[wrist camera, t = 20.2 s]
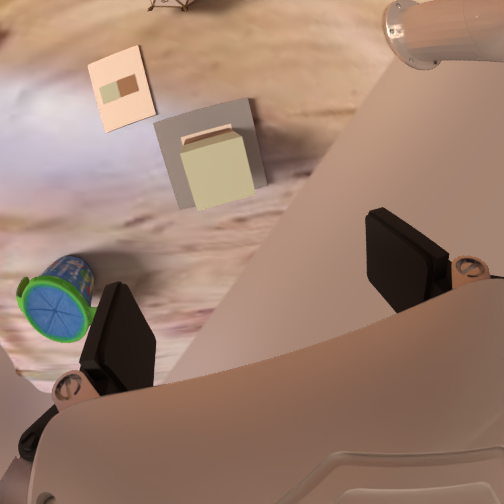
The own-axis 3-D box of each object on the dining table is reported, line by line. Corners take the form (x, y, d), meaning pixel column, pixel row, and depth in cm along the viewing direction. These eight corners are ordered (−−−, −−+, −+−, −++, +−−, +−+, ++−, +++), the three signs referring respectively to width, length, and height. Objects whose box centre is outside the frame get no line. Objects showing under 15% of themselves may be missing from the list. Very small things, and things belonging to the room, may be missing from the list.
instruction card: (138, 45, 29) (137, 44, 29) (156, 114, 34) (155, 114, 33) (88, 65, 29) (87, 65, 28) (106, 132, 33) (105, 133, 33)
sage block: (233, 131, 30) (242, 136, 25) (245, 179, 33) (255, 194, 27) (182, 145, 30) (180, 153, 24) (196, 192, 32) (197, 211, 27)
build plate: (246, 97, 35) (247, 97, 34) (265, 183, 41) (267, 185, 40) (154, 122, 34) (153, 123, 33) (180, 207, 40) (179, 210, 39)
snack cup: (122, 254, 42) (106, 294, 33) (118, 310, 46) (106, 354, 37) (32, 236, 37) (1, 269, 28) (36, 291, 41) (13, 329, 32)
